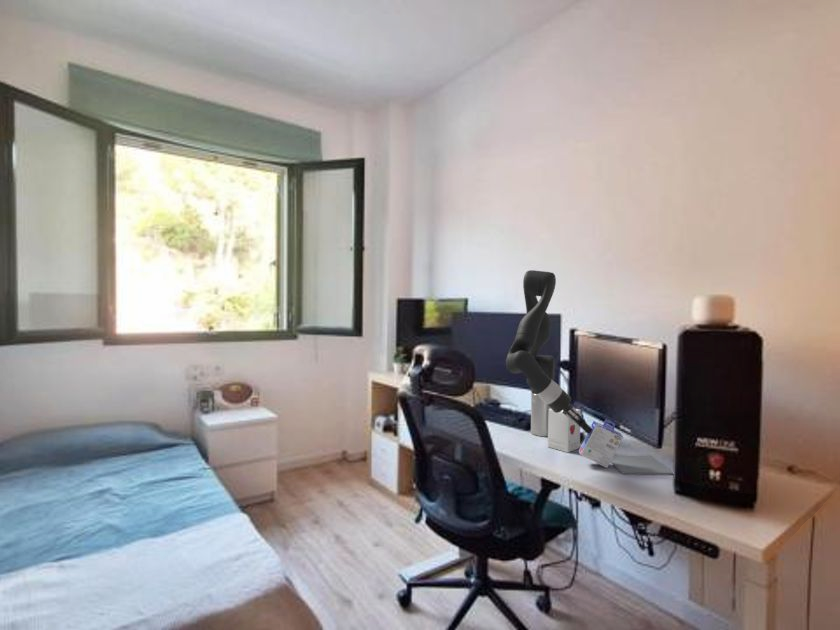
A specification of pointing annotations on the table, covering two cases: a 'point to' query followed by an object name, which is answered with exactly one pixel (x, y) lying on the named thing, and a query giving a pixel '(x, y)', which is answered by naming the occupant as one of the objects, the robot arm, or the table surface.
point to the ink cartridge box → (601, 443)
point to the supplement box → (563, 432)
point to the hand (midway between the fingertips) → (589, 431)
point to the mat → (639, 465)
